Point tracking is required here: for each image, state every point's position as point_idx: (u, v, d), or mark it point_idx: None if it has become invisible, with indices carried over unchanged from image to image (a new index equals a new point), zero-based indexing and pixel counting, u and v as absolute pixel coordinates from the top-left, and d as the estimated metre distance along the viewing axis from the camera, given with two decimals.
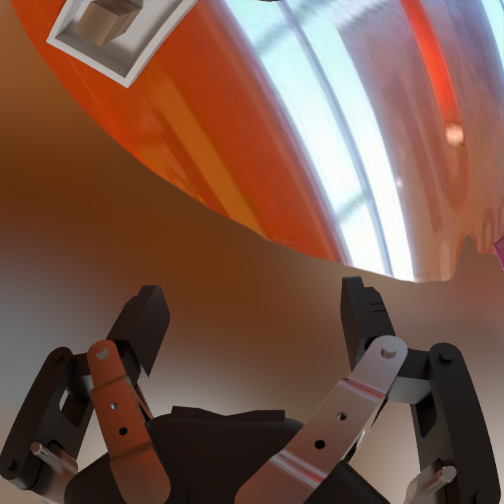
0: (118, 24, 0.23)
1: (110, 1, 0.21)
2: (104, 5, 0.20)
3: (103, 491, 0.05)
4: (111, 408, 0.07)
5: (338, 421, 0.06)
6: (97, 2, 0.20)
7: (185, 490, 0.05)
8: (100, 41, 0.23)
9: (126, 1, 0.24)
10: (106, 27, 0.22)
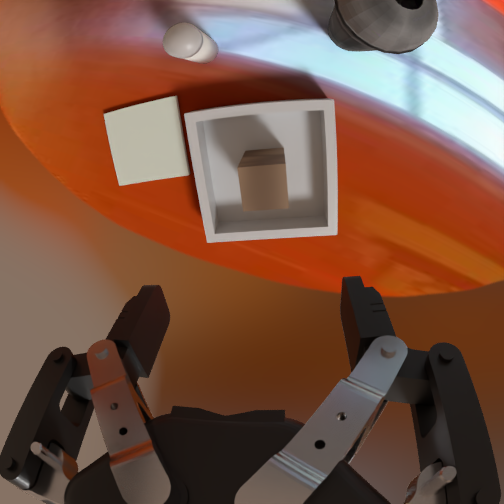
0: None
1: (252, 158, 0.27)
2: (254, 163, 0.26)
3: (103, 491, 0.05)
4: (111, 408, 0.07)
5: (338, 421, 0.06)
6: (244, 164, 0.25)
7: (185, 490, 0.05)
8: (285, 202, 0.26)
9: (262, 150, 0.30)
10: (280, 184, 0.25)
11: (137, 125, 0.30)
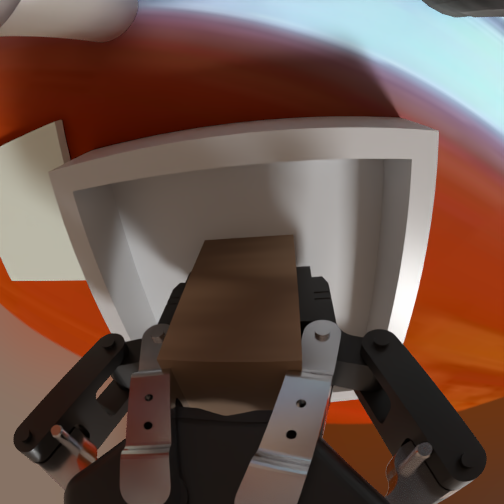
0: None
1: (210, 292, 0.10)
2: (210, 335, 0.09)
3: (103, 492, 0.05)
4: (145, 399, 0.07)
5: (300, 409, 0.07)
6: (180, 342, 0.09)
7: (185, 490, 0.05)
8: None
9: (243, 247, 0.13)
10: None
11: (8, 184, 0.13)
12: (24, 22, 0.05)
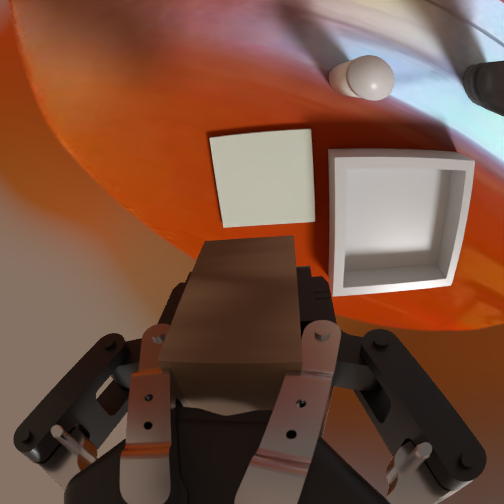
0: None
1: (210, 294, 0.10)
2: (210, 337, 0.09)
3: (103, 491, 0.05)
4: (145, 399, 0.07)
5: (300, 409, 0.07)
6: (180, 344, 0.09)
7: (185, 490, 0.05)
8: None
9: (243, 248, 0.13)
10: None
11: (257, 158, 0.27)
12: None
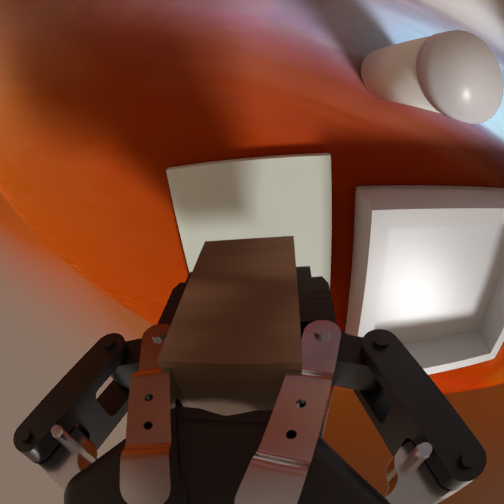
0: None
1: (211, 294, 0.10)
2: (210, 337, 0.09)
3: (103, 491, 0.05)
4: (145, 399, 0.07)
5: (299, 409, 0.07)
6: (180, 344, 0.09)
7: (185, 490, 0.05)
8: None
9: (243, 249, 0.13)
10: None
11: (242, 202, 0.17)
12: None
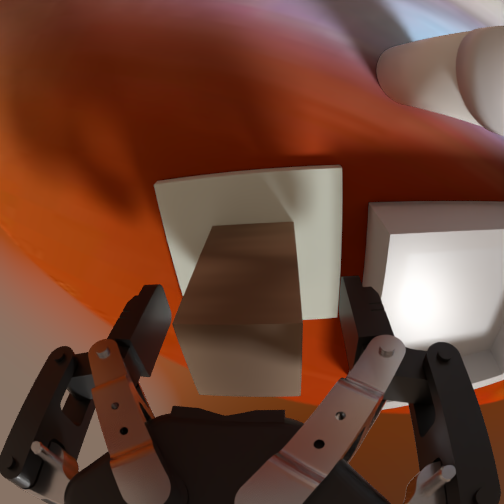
0: None
1: (219, 269, 0.12)
2: (220, 303, 0.10)
3: (103, 492, 0.05)
4: (112, 408, 0.07)
5: (337, 421, 0.06)
6: (193, 310, 0.10)
7: (185, 490, 0.05)
8: (294, 388, 0.11)
9: (248, 232, 0.14)
10: (283, 361, 0.10)
11: (241, 221, 0.15)
12: None
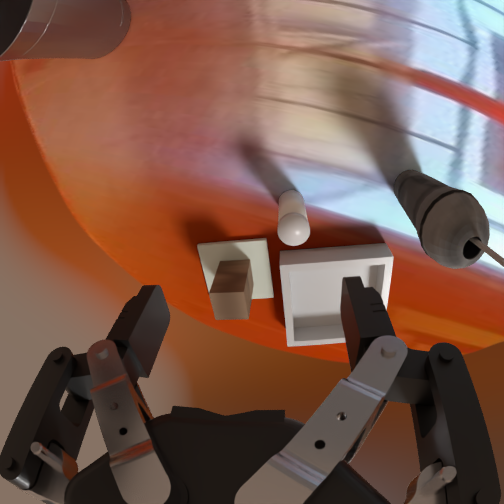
0: (247, 293, 0.36)
1: (222, 277, 0.37)
2: (222, 287, 0.35)
3: (103, 491, 0.05)
4: (111, 408, 0.07)
5: (338, 421, 0.06)
6: (214, 289, 0.35)
7: (185, 490, 0.05)
8: (245, 315, 0.36)
9: (232, 263, 0.39)
10: (240, 304, 0.35)
11: (230, 259, 0.40)
12: None
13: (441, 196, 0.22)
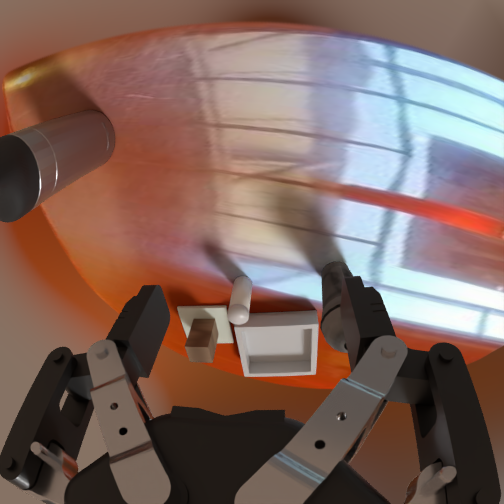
0: (211, 345, 0.50)
1: (194, 333, 0.51)
2: (194, 342, 0.49)
3: (103, 492, 0.05)
4: (111, 408, 0.07)
5: (338, 421, 0.06)
6: (188, 343, 0.49)
7: (185, 490, 0.05)
8: (210, 360, 0.50)
9: (202, 322, 0.53)
10: (206, 354, 0.49)
11: (201, 317, 0.54)
12: None
13: (336, 307, 0.37)
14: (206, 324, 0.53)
